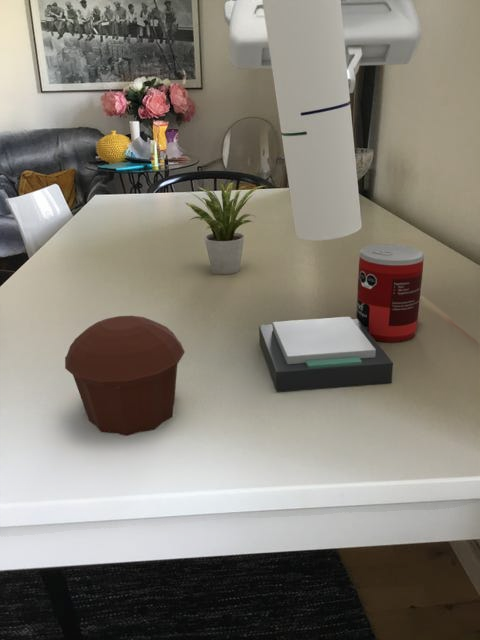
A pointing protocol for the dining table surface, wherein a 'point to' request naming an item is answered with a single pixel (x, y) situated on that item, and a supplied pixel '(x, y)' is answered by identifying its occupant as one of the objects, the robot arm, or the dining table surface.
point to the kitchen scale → (322, 354)
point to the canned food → (389, 291)
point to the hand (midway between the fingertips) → (329, 89)
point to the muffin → (126, 373)
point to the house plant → (223, 229)
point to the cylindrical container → (314, 115)
